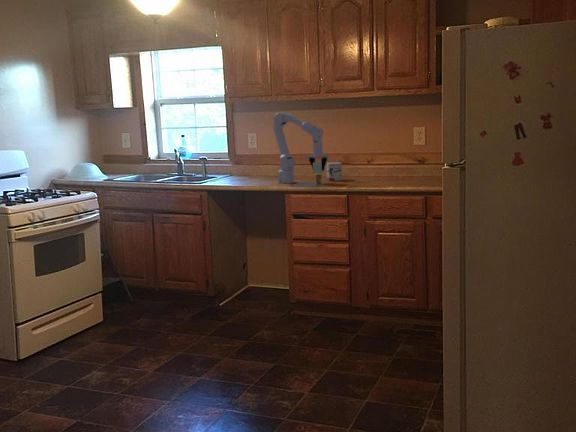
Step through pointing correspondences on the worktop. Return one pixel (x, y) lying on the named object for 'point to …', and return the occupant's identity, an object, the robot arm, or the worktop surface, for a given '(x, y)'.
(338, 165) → the ink box
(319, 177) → the post
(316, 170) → the pale green cube
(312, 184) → the board
